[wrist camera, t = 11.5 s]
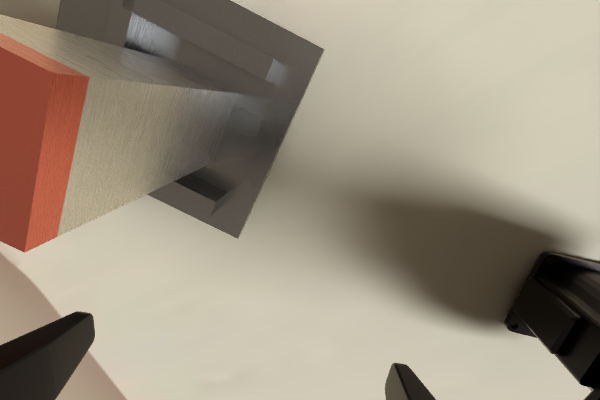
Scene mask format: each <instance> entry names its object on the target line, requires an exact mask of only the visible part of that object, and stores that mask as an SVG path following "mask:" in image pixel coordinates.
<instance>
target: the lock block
mask: <svg viewBox="0 0 600 400" xmlns="http://www.w3.org/2000/svg"><path fill="white" fill-rule="evenodd" d="M237 96H238V93H236V92H234V91H232V90H230V89H228V88H226V87H224V86H222V85H220V84H218V83H216V82H214V81H212V80H210V79H208V78H207V77H205V76H203V75H201V74H199V73H197V72H195V71H193V70H191V69H189V68H187V67H185V66H183V65H181V64H179V63H177V62H175V61H172V60H168V59H165V58H161V57H157V56H154V55H150V54H146V53H142V52H139V51H135V50H131V49H128V48H124V47H120V46H116V45H113V44H109V43H105V42H102V41H98V40H94V39H90V38H87V37H83V36H79V35H75V34H72V33H68V32H64V31H61V30H57V29H53V28H49V27H46V26H42V25H38V24H35V23H31V22H27V21H23V20H20V19H16V18H12V17H9V16H5V15H1V14H0V241H1V242H3V243H6V244H8V245H10V246H12V247H14V248H16V249H18V250H20V251H23V252H26V251H28V250H31V249H33V248H35V247H37V246H39V245H41V244H43V243H45V242H47V241H49V240H52V239H54V238H56V237H58V236H60V235H62V234H64V233H66V232H68V231H70V230H73V229H75V228H77V227H79V226H81V225H83V224H85V223H87V222H89V221H91V220H94V219H96V218H98V217H100V216H102V215H104V214H106V213H108V212H110V211H112V210H115V209H117V208H119V207H121V206H123V205H125V204H127V203H129V202H131V201H133V200H135V199H138V198H140V197H142V196H144V195H146V194H148V193H150V192H152V191H154V190H156V189H159V188H161V187H163V186H165V185H167V184H169V183H171V182H173V181H175V180H177V179H180V178H182V177H184V176H186V175H188V174H190V173H192V172H194V171H196V170H198V169H201V168H203V167H205V166H207V165H209V164H211V163H212V162H213V159H214V157H215V154H216V151H217V149H218V146H219V143H220V141H221V138H222V135H223V133H224V130H225V128H226V125H227V122H228V120H229V117H230V114H231V112H232V109H233V106H234V104H235V101H236V98H237Z"/></svg>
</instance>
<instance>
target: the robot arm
mask: <svg viewBox="0 0 600 400" xmlns="http://www.w3.org/2000/svg"><path fill="white" fill-rule="evenodd" d="M549 258H551V260H550V261H548V262H547V260H548V259H549ZM514 323H515V324H514ZM504 324H505V326H506V327H507V328H508V330H509V331H512V332H516V333H520V334H524V335H528V336H532V337H536V338H538V339H539V340H540V341H541V342H542V344H543V345H544V346H545V347H546V348H547V349H548V351H549V352H550V353H552V354H554V355H555V356H556V357H557V358H558V359H559V360H560V362H561V363H562V364H563V365H564V366H565V367H566V368H567V370H568V371H569V372H570V373H571V374H572V375H573V376H574V378H575V379H576V380H577V381H578V382H579V383H580V384H581V385H583V386H587V387H588V388H589V389H590V390H591V392H590V394H589V395H588V396H587V397H586V398H585V399H584V400H600V263H596V262H592V261H587V260H583V259H579V258H575V257H570V256H566V255H562V254H557V253H553V252H544V253H543V254H541V255H540V257H539V259H538V260H537V262H536V264H535V266H534V268H533V270H532V271H531V273H530V275H529V277H528V279H527V281H526V282H525V284H524V286H523V288H522V290H521V292H520V294H519V295H518V297H517V299H516V301H515V303H514V305H513V306H512V308H511V310H510V312H509V314H508V316H507V317H506V319H505V322H504ZM512 324H514V325H512ZM94 338H95V330H94V320H93V316H92V314H90V313H86V312H74V313H72V314H70V315H67V316H65V317H63V318H61V319H59V320H56V321H54V322H52V323H49V324H47V325H45V326H43V327H40V328H38V329H36V330H34V331H32V332H29V333H27V334H25V335H23V336H20V337H18V338H16V339H14V340H11V341H9V342H7V343H5V344H2V345H0V400H55V399H56V398H57V396H58V395H59V393H60V392H61V390H62V389H63V387H64V386H65V385H66V383H67V381H68V380H69V378H70V377H71V375H72V374H73V372H74V371H75V369H76V368H77V366H78V365H79V363H80V361H81V360H82V358H83V357H84V355H85V354H86V352H87V351H88V349H89V348H90V346H91V345H92V343H93V341H94ZM385 394H386V400H436V399H435V398H434V397H433V395H432V394H431V393H430V392H429V391H428V389H427V388H426V387H425V386H424V385H423V383H422V382H421V381H420V380H419V378H418V377H417V376H416V375H415V374H414V372H413V371H412V370H411V369H410V368H409V367H408V366H407V365H405V364H399V363H393V364H392V366H391V368H390V371H389V374H388V377H387V380H386V384H385Z"/></svg>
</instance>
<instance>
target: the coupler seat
mask: <svg viewBox="0 0 600 400" xmlns="http://www.w3.org/2000/svg"><path fill="white" fill-rule="evenodd" d="M56 29H57V30H61V31H64V32H68V33H72V34H75V35H79V36H83V37H87V38H90V39H94V40H98V41H102V42H105V43H109V44H113V45H116V46H120V47H124V48H128V49H131V50H135V51H139V52H142V53H146V54H150V55H154V56H157V57H161V58H165V59H168V60H172V61H175V62H177V63H179V64H181V65H183V66H185V67H187V68H189V69H191V70H193V71H195V72H197V73H199V74H201V75H203V76H205V77H207V78H208V79H210V80H212V81H214V82H216V83H218V84H220V85H222V86H224V87H226V88H228V89H230V90H232V91H234V92H236V93H238V96H237V98H236V101H235V104H234V106H233V109H232V112H231V114H230V117H229V120H228V122H227V125H226V128H225V130H224V133H223V135H222V138H221V141H220V143H219V146H218V149H217V151H216V154H215V157H214V159H213V162H212V163H211V164H209V165H207V166H205V167H203V168H201V169H198V170H196V171H194V172H192V173H190V174H188V175H186V176H184V177H182V178H180V179H177V180H175V181H173V182H171V183H169V184H167V185H165V186H163V187H161V188H159V189H156V190H154V191H152V192H150V193H148V195H150V196H152V197H154V198H156V199H158V200H160V201H162V202H164V203H166V204H168V205H170V206H172V207H174V208H176V209H178V210H180V211H182V212H184V213H186V214H189V215H191V216H193V217H195V218H197V219H199V220H201V221H203V222H205V223H207V224H209V225H211V226H213V227H215V228H217V229H219V230H221V231H223V232H225V233H227V234H230V235H232V236H234V237H236V238H239V236H240V234H241V232H242V230H243V227H244V225H245V223H246V221H247V219H248V216H249V214H250V212H251V210H252V208H253V205H254V203H255V201H256V199H257V197H258V194H259V192H260V190H261V188H262V186H263V184H264V181H265V179H266V177H267V175H268V173H269V170H270V168H271V166H272V164H273V162H274V159H275V157H276V155H277V153H278V151H279V148H280V146H281V144H282V142H283V140H284V138H285V135H286V133H287V131H288V129H289V127H290V124H291V122H292V120H293V118H294V116H295V113H296V111H297V109H298V107H299V105H300V102H301V100H302V98H303V96H304V94H305V91H306V89H307V87H308V85H309V83H310V81H311V78H312V76H313V74H314V72H315V70H316V67H317V65H318V63H319V61H320V59H321V56H322V54H323V52H324V49H322V48H320V47H319V46H317V45H315V44H313V43H311V42H309V41H307V40H305V39H303V38H301V37H299V36H297V35H296V34H294V33H292V32H290V31H288V30H286V29H284V28H282V27H280V26H278V25H276V24H274V23H273V22H271V21H269V20H267V19H265V18H263V17H261V16H259V15H257V14H255V13H253V12H251V11H250V10H248V9H246V8H244V7H242V6H240V5H238V4H236V3H234V2H232V1H230V0H61V3H60V9H59V16H58V22H57V28H56Z"/></svg>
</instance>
